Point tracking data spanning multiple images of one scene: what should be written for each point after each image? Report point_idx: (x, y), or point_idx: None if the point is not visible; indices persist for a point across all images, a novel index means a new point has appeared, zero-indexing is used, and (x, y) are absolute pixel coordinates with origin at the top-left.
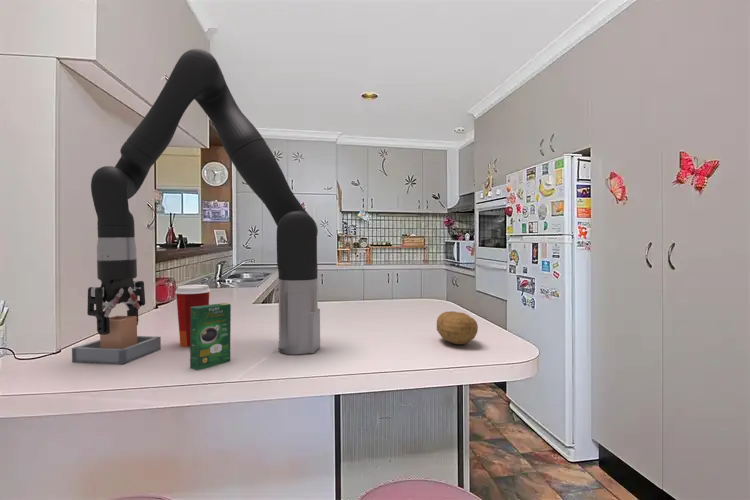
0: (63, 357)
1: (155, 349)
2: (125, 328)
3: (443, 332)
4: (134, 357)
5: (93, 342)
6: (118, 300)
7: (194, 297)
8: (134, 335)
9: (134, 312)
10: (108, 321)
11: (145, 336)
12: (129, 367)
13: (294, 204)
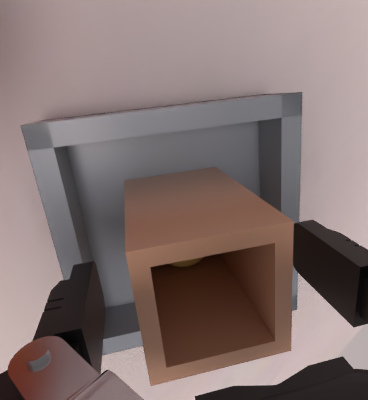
0: None
1: (78, 116)
2: (224, 206)
3: None
4: (216, 100)
5: None
6: (358, 390)
7: None
8: (143, 200)
9: (84, 325)
10: (346, 250)
11: (51, 212)
12: (264, 67)
13: None
